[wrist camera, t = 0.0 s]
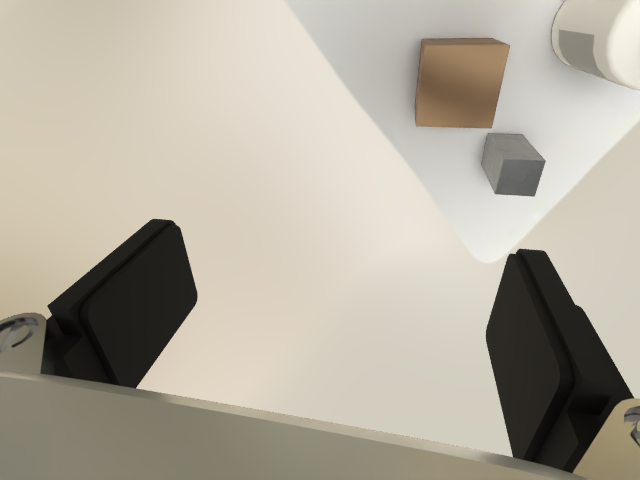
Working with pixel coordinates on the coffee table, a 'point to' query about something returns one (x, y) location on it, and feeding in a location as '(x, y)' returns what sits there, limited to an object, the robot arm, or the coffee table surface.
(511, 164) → the post
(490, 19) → the coffee table surface
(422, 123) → the tan wooden cube
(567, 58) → the spray bottle
